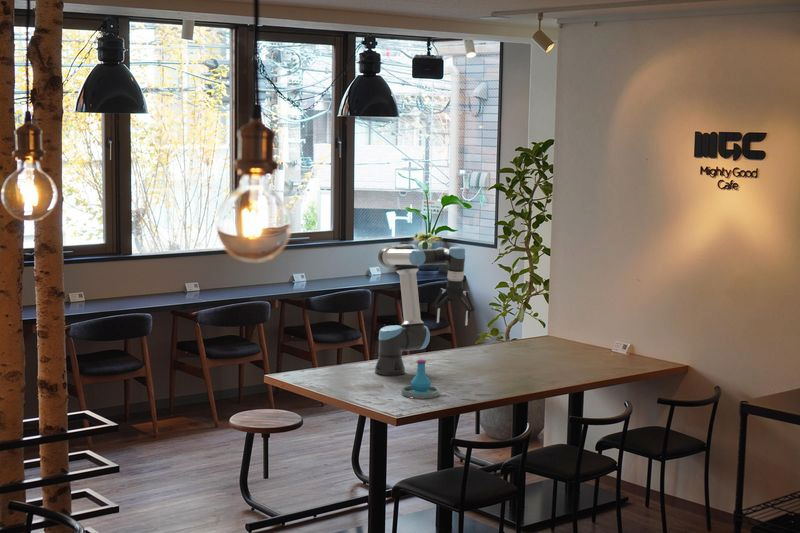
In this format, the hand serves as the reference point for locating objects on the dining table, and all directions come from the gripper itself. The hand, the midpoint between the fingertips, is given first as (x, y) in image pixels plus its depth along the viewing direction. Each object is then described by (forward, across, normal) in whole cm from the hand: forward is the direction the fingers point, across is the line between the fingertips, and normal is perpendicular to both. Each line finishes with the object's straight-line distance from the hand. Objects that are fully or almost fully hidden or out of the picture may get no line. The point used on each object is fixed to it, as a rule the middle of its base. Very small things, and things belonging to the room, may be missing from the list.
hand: (452, 323), depth 489 cm
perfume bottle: (+29, -10, -20) cm, 37 cm away
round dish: (+30, -10, -21) cm, 38 cm away
